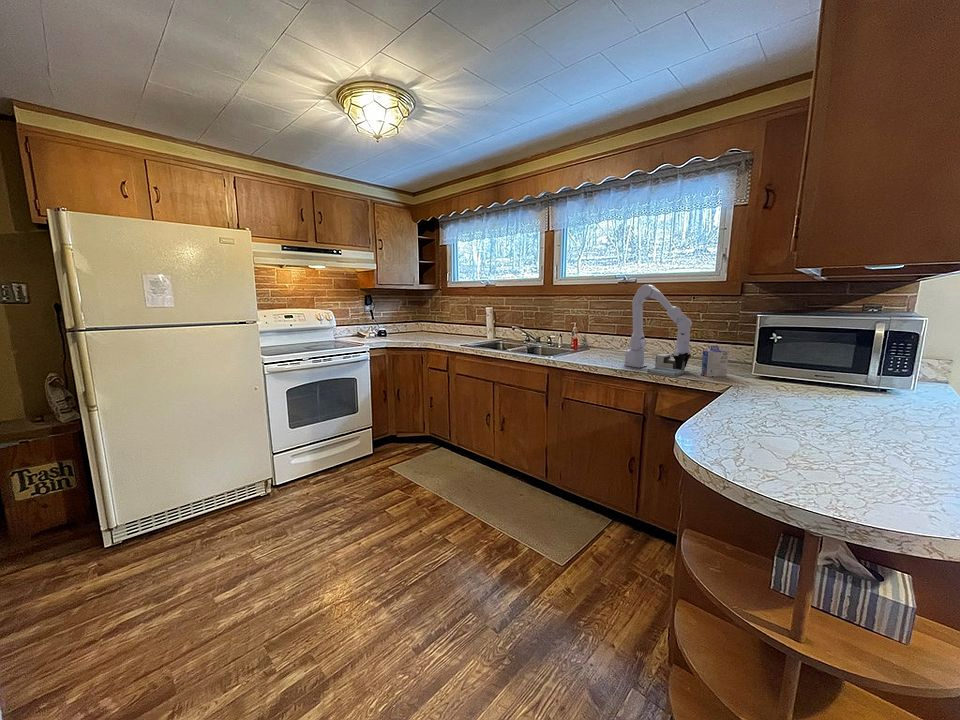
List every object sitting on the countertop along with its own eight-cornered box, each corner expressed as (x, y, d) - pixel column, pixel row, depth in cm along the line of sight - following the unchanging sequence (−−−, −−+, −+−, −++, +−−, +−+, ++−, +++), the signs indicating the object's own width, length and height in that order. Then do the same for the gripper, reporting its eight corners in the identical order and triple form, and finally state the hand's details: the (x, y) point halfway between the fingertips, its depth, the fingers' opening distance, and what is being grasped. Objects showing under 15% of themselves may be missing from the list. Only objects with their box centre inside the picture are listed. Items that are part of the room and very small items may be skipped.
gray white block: (663, 369, 205) (664, 359, 204) (667, 368, 207) (668, 358, 206) (680, 371, 198) (681, 361, 197) (684, 370, 200) (685, 360, 199)
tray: (647, 372, 197) (647, 368, 197) (655, 369, 203) (656, 366, 202) (675, 376, 186) (675, 372, 186) (683, 374, 192) (683, 370, 192)
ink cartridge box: (720, 374, 191) (723, 345, 188) (727, 376, 185) (730, 346, 183) (700, 374, 191) (702, 345, 188) (706, 377, 185) (709, 346, 183)
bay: (654, 368, 206) (655, 355, 205) (662, 366, 211) (663, 353, 210) (672, 371, 199) (673, 357, 198) (679, 369, 204) (680, 355, 203)
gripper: (684, 343, 190) (682, 371, 192) (697, 341, 199) (695, 367, 201) (670, 342, 195) (668, 369, 197) (683, 340, 204) (681, 365, 206)
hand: (680, 368), depth 200 cm, fingers closed on gray white block, 4 cm apart
